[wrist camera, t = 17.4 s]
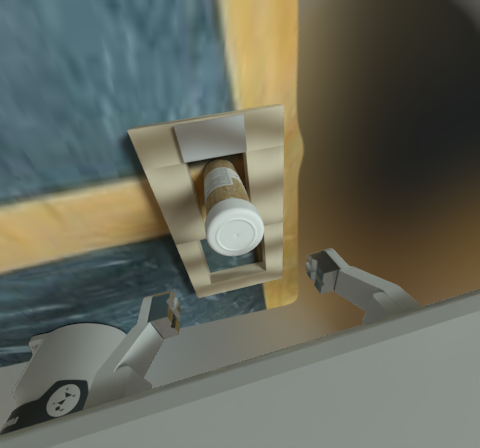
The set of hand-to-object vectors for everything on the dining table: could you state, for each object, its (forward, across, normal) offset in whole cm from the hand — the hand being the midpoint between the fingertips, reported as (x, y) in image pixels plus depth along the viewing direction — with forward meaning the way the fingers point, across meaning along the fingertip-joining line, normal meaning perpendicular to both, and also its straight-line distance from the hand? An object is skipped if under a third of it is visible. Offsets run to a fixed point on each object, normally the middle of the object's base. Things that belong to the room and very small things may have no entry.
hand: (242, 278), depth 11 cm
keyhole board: (+17, 0, +7) cm, 19 cm away
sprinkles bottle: (+18, -1, 0) cm, 18 cm away
